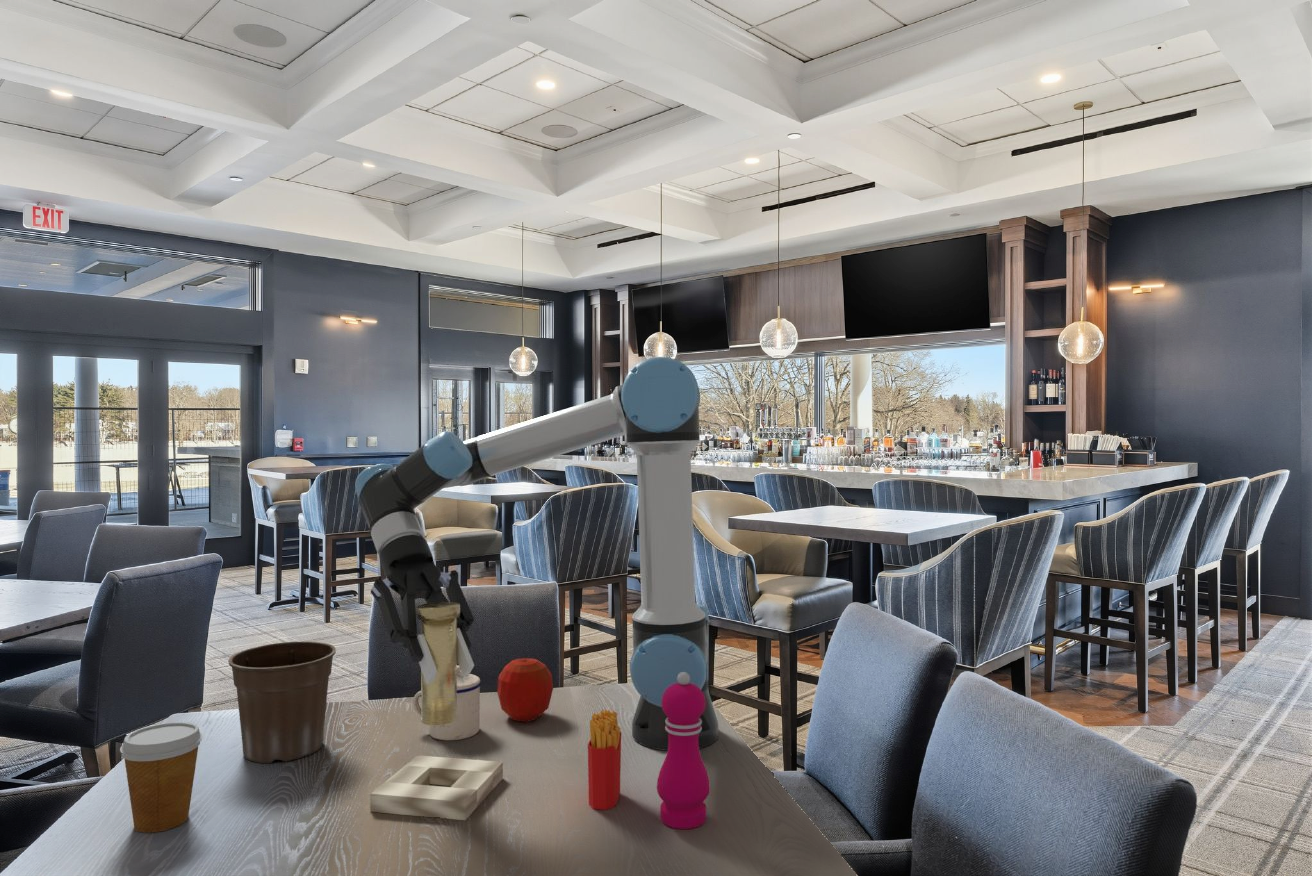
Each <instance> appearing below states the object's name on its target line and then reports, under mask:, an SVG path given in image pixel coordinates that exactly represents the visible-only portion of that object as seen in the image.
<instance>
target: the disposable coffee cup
mask: <svg viewBox="0 0 1312 876" xmlns="http://www.w3.org/2000/svg"><path fill="white" fill-rule="evenodd" d="M199 728H200V727H199V726H198V724H195V723H193V722H186V721H179V722H178V721H174V722H173V721H171V722H164V723H158V724H153V725H148V726H144V727H142V728H139V729H136V730H134V731H132V732H130V733H129V734H127V735H126V736H125V737H124V739H123V743H122V745H121V746H120V748H119V753H120V754H122V758H123V759H124V765H125V771H126V780H127V781H126V782H127V785H128V786H127V787H128V791H129V801H130V805H131V806H130V807H131V815H132V820H133V829H134V830H135V831H136V832H139V833H144V834H145V833H148V834H149V833H158V832H165V831H167V830H171V829H173V828H176V827H179V826H180V825H182V824H183V823H185V822H186V821H187V820H188V819H189V816H190V815H189V814H190V809H191V808H190V807H191V800H192V793H193V786H194V779H195V774H196V773H195V772H196V764H197V758H198V750H199V746H200V744H201V741H202V739H203V733H201V732H200V731H201V730H200V729H199Z"/></svg>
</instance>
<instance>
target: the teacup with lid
mask: <svg viewBox="0 0 1312 876" xmlns="http://www.w3.org/2000/svg"><path fill="white" fill-rule="evenodd" d="M481 686H482V681H481V679H480V677H479V676H477V675H475V674H472V673H470V674H469V675H468V676H465V677H463V674H462V672H461V669H460V667H459V664H458V665H457V719H456V720H455V721H453V722H451V723H448V724H444V725H428V727H429V729H428V730H429V731H428V734H429V735H430V736H431V738H434V739H436V740H439V741H458V740H459V741H460V740H464V739H468V738H470V737H471V738H472V737H474V736H475V735H476V734H477V733H479V731H480V709H481V708H480V707H481V706H480V704H481V703H480V702H481V701H480V700H481V699H480V697H481V696H480V695H481V693H480V692H481V691H480V690H481V689H480V687H481ZM420 696H421V690H420V691H418V692H416V694H415V695H414V697H413V700H412V703H413V709H414V711H415V713H416V714H417V715H418V716H419V717H421V707H420V706H421V705H420V703H419V698H420Z"/></svg>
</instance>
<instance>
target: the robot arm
mask: <svg viewBox="0 0 1312 876" xmlns="http://www.w3.org/2000/svg"><path fill="white" fill-rule="evenodd" d="M700 392H701V391H700V389H699V384H698V382H697V379H696V377H695V374H694V373H693V371H692V370H691V369H690V368H689V367H688V365H686V364H685V363H683V362H682V361H680V360H677V359H676V358H672V357H669V356H668V357H665V356H653V357H650V358H646V359H645V360H642V361H640V362H639V363H637V364H636V365H635V366H634V367H633V368H631V370H630V371H629V372H628V374H627V375H626V377H625V379H624V381H623V383H622V384H620V385H618V386H615V388H614V390H613V391H612V393H611V394H609V395H605V396H603V397H602V396H601V397H598V398H596V399H592V400H590V401H586V402H583V403H580V404H577V405H574V406H571V407H568V408H565V409H560V410H558V411H554V412H552V413H548V414H545V415H543V416H539V417H536V418H532V419H530V420H526V421H523V422H520V423H516V424H513V425H511V426H507V427H504V428H501V429H498V430H495V431H492V432H489V433H486V434H481V435H478V436H476V437H471V438H469V439H466V440H465V439H464V440H463V441H462V439H461V438H460V437H459V436H458V435H456V434H454V433H453V432H452V431H448V430H446V431H442V432H440V433H439V434H437V435H436V436H434V437H433V438H429V439H427V440H426V442H425V443H424V444H423V445H422V446H420V447H419V448H418V449H416V450H415V451H413V452H412V453H410V455H409V456H407V457H406V458H404V459H403V460H402V461H401V462H399V463H398V464H396V465H394V466H393V465H392V464H388V463H377V464H375V465H374V466H372V467H370V466H369V467H367V468H365V469H363V470H362V471H361V472H360V473H359V474H358V475H357V477H356V479H355V484H354V485H355V486H354V488H355V492H356V496H357V501H358V505H359V507H360V509H361V511H362V514H363V516H364V518H365V521H366V524H367V526H368V529H369V532H370V535H371V538H372V542H373V544H374V548H375V550H376V553H377V554H378V556H379V561H380V563H381V567H382V569H383V573H384V575H385V578H384V579H381V578H376V579H375V580H374V583H373V585H372V587H371V589H370V594H371V595H372V596H373V598H374V599H375V600H376V601H377V603H378V606H379V609H380V612H381V615H382V619H383V620H384V624H385V628H386V631H387V633H388V636H389V640H390V642H391V643H392V644H398V643H402V647H403V648H404V649H408V650H407V651H408V652H409V655H410V658H411V660H412V662H413V663H418V664H419V667H420V671H421V670H422V673H423V675H424V678H425V681H426V684H432V682H433V680H434V679H435V677H436V675H437V673H438V672H437V669H436V667H435V664H434V661H433V659H432V656H431V653H430V650H429V648H428V645H427V642H426V640H425V637H424V635H423V634H421V633H420V634H418V625H417V623H418V622H417V612H416V611H417V610H416V600H418V599H423V600H424V601H425V602H426V604H427V603H434V602H454V603H458V604H460V616H459V617H457V664H458V666H459V667H460V669H461V672H462V674H463V677H465V676H468V675H469V674H471V672H472V670H473V669H474V667H475V663H474V661H473V658H472V655H471V653H470V649H471V647H472V643H471V641H470V638H469V636H468V633H467V632H468V631H469V630H470V628H471V626H472V625H473V623H474V622H475V619H474V616H473V614H472V610H471V609H470V606H469V603H468V602H467V599H466V597H465V595H464V592H463V590H462V587H461V586H460V582H459V572H458V571H457V570H456V569H455V570H453V569H452V570H451V571H450V573H448V572H442V571H441V569H440V568H439V567H437V565H436V564H435V562H434V556H433V553H432V550H431V549H430V546H429V543H428V542H427V541H428V540H427V539H426V537H425V533H424V531H423V529H422V526H421V524H420V521H419V519H418V517H417V514H416V510H415V509H416V508H417V507H419V506H420V505H422V504H423V503H425V502H426V501H427V500H429V499H430V498H431V497H433V496H434V495H436V494H437V493H439V492H440V491H441V490H443V489H448V488H452V487H453V488H454V487H459V486H460V487H463V486H468V485H473V484H475V483H476V482H478V481H481V480H485V479H488V478H489V477H493V476H496V475H498V474H502V473H505V472H509V471H512V470H515V469H519V468H522V467H526V466H529V465H532V464H535V463H538V462H542V461H545V460H548V459H552V458H554V457H558V456H562V455H564V454H567V453H570V452H575V451H577V450H580V449H583V448H584V449H585V448H587V447H589V446H591V447H592V446H593V445H596V444H600V443H603V442H606V441H609V440H613V439H617V438H619V437H622V436H626V445H627V446H628V448H630V449H631V451H633V452H634V453H635V455H636V475H637V501H638V502H637V504H638V508H637V509H638V536H639V537H638V538H639V563H640V565H639V567H640V568H639V569H640V570H639V571H640V574H639V575H640V599H641V604H640V606H639V607H638V608H637V610H636V611H634V613H633V614H632V617H631V618H632V649H633V650H632V655H631V658H630V662H629V672H630V679H631V681H632V682H631V683H632V684H633V687H634V688H635V690H636V692H637V693H638V694H639V695H640V697H639V700H638V703H637V705H636V709H635V711H634V715H633V719H632V722H631V723H632V724H631V735H632V738H633V740H634V741H635V742H637V743H639V744H640V745H642V746H645V747H648V748H652V749H657V750H663V751H668V743H669V736H668V732H667V731H666V730H665V726H666V723H665V720H666V718H667V715H666V714H665V713H664V711H663V709H662V697H663V694H664V692H665V690H666V689H667V688H668V687H669V686H671V685H673V684H675V683H678V681H677V677H678V675H679V674H680V673H681V672H686V673H688V674H689V676H690V682H689V683H691V684H694V685H696V686H697V687H699V688H700V689H701V691H702V692H703V694H704V696H705V703H706V705H705V710H704V712H703V714H702V715H701V716H700V717H699V718H700V719H701V720H702V723H701V727H702V730H701V732H699V736H698V744H699V749H700V748H704V747H707V746H709V745H710V746H711V744H713V743H715V742H716V741H717V740H718V739H719V722H718V718H717V714H716V712H715V708H714V705H713V703H712V698H711V695H710V692H709V644H710V643H709V639H710V638H709V632H710V631H709V629H710V628H709V625H710V619H709V618H710V617H709V609H708V608H707V607H706V606H705V605H704V604H699V603H696V586H695V585H696V584H695V554H694V552H695V551H694V549H695V548H694V524H693V523H694V520H693V515H694V514H693V491H692V490H693V489H692V487H693V486H692V458H691V453H692V452H693V450H694V449H695V448H696V447H697V446H698V445H699V444H700V442H701V441H700V439H701V438H700V436H701V435H700V409H699V408H700V402H701V393H700ZM439 582H441V584H442V587H441V585H440V584H439ZM442 588H443V589H445V591H446V596H447V598H448V599H447V598H446V596H445V594H444V593H443V590H442ZM391 590H392V591H393V592H395V593H396V594H398V595H399V596H400V597H399V600H400V607H401V611H402V612H401V614H402V620H401V618H400V615H399V612H398V609H397V606H396V603H395V601H394V600H395V599H394V597H393V594H392V592H391Z"/></svg>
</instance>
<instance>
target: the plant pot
mask: <svg viewBox="0 0 1312 876" xmlns="http://www.w3.org/2000/svg"><path fill="white" fill-rule="evenodd" d="M336 651H337V648H336V646H334V645H333V644H330V643H327V642H319V641H285V642H275V643H268V644H263V645H259V646H256V647H251V648H247V649H244V650H241V651H238V652H236V653H235V654H233V655H232V656H230V657H229V658H228V659H227V660H228V661H227V662H228V663H227V664H228V666H230V668H231V669H232V670H231V671H232V678H233V685H234V687H235V688H236V695H237V704H238V714H239V715H238V716H239V722H240V723H239V725H240V733H241V735H240V736H241V743H242V744H241V745H242V754H243V757H244V758H245V759H246V760H248V761H251V762H253V763H260V764H272V763H273V762H274V761H276V760H279V761H283V762H285V763H286V762H289V761H294V760H297V759H302V758H305V757H307V755H308V756H309V755H312V754H313V753H315V752H316V751H319V749H321V748H322V746H323V742H324V739H325V736H324V735H325V725H326V723H325V722H326V712H327V700H328V690H329V689H328V688H329V680H330V679H329V678H330V676H331V674H332V669H333V667H332V666H333V657H334V655H336ZM304 756H305V757H304Z"/></svg>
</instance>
